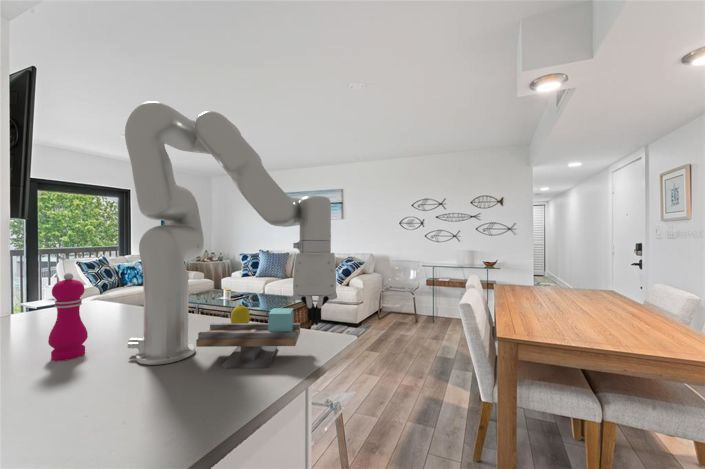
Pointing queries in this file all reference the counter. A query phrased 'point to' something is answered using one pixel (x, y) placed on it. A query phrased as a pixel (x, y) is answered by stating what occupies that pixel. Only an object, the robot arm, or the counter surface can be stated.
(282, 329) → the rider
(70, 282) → the pepper mill
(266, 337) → the wooden tray
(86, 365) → the counter surface
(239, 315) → the lemon
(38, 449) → the counter surface
